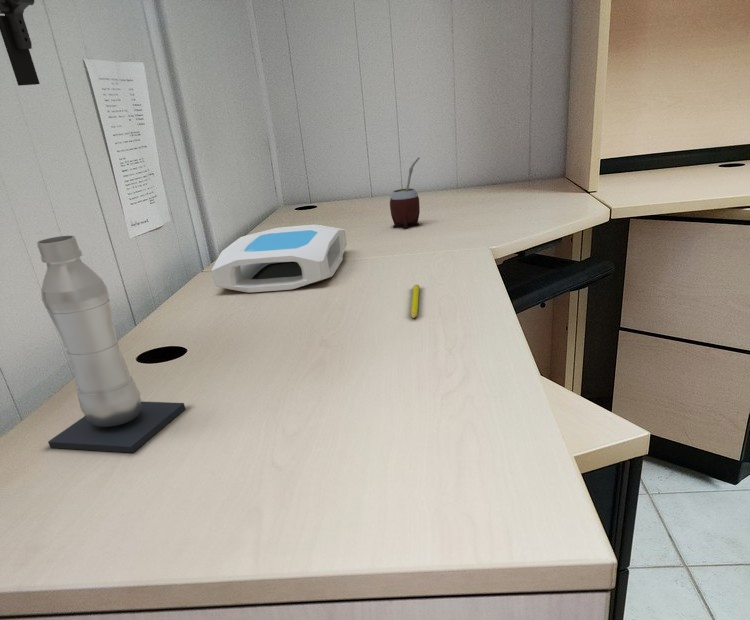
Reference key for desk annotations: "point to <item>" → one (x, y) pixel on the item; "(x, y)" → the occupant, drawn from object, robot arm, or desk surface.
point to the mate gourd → (405, 205)
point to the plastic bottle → (87, 334)
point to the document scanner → (280, 257)
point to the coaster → (119, 430)
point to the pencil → (415, 301)
